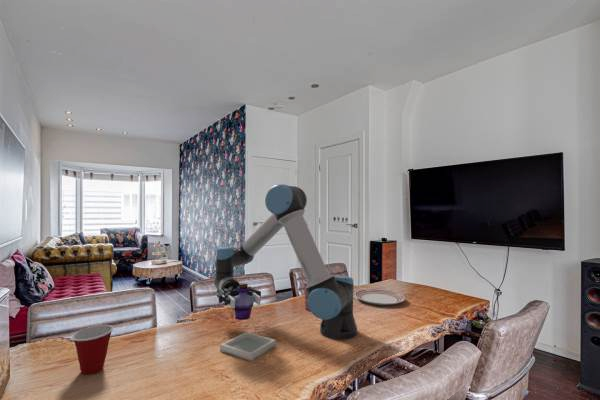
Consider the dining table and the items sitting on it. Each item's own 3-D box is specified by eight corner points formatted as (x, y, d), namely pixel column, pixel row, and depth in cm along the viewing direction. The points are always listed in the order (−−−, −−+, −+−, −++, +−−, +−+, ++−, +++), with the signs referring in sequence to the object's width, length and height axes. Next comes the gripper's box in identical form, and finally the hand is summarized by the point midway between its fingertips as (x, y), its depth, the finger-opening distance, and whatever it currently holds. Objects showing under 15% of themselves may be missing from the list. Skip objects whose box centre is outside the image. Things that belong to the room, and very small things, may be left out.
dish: (275, 346, 117) (275, 339, 117) (250, 361, 105) (251, 354, 105) (246, 337, 124) (246, 331, 124) (220, 350, 112) (220, 344, 112)
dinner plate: (411, 309, 166) (412, 302, 166) (359, 307, 166) (359, 301, 166) (396, 294, 193) (396, 289, 193) (351, 293, 193) (351, 288, 193)
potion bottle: (226, 316, 115) (226, 283, 116) (247, 311, 121) (247, 280, 121) (237, 323, 109) (237, 287, 109) (259, 318, 114) (259, 284, 114)
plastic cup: (69, 368, 99) (70, 328, 99) (109, 358, 105) (110, 321, 106) (70, 383, 90) (72, 340, 90) (114, 372, 97) (115, 332, 97)
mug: (324, 310, 159) (325, 283, 160) (308, 312, 156) (308, 285, 156) (313, 303, 171) (314, 278, 171) (298, 305, 167) (298, 279, 168)
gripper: (254, 294, 136) (275, 309, 115) (203, 300, 126) (215, 317, 106) (255, 276, 136) (275, 288, 116) (203, 281, 126) (216, 294, 106)
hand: (246, 302), depth 111 cm, fingers closed on potion bottle, 8 cm apart
